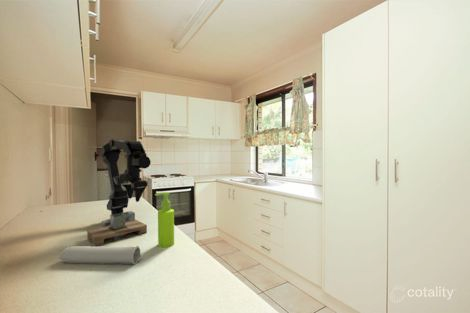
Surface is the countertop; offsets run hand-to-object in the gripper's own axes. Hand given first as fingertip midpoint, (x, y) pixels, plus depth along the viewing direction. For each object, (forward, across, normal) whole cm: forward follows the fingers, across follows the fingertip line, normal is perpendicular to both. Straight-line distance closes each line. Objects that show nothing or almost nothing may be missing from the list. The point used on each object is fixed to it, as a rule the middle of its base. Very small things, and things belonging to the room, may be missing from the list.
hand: (133, 200), depth 109 cm
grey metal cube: (+13, -4, -10) cm, 17 cm away
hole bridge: (+13, +8, -9) cm, 17 cm away
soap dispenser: (+13, +30, 0) cm, 33 cm away
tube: (+13, +28, -21) cm, 37 cm away
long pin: (+13, +8, -9) cm, 17 cm away
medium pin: (+13, -5, -1) cm, 14 cm away
